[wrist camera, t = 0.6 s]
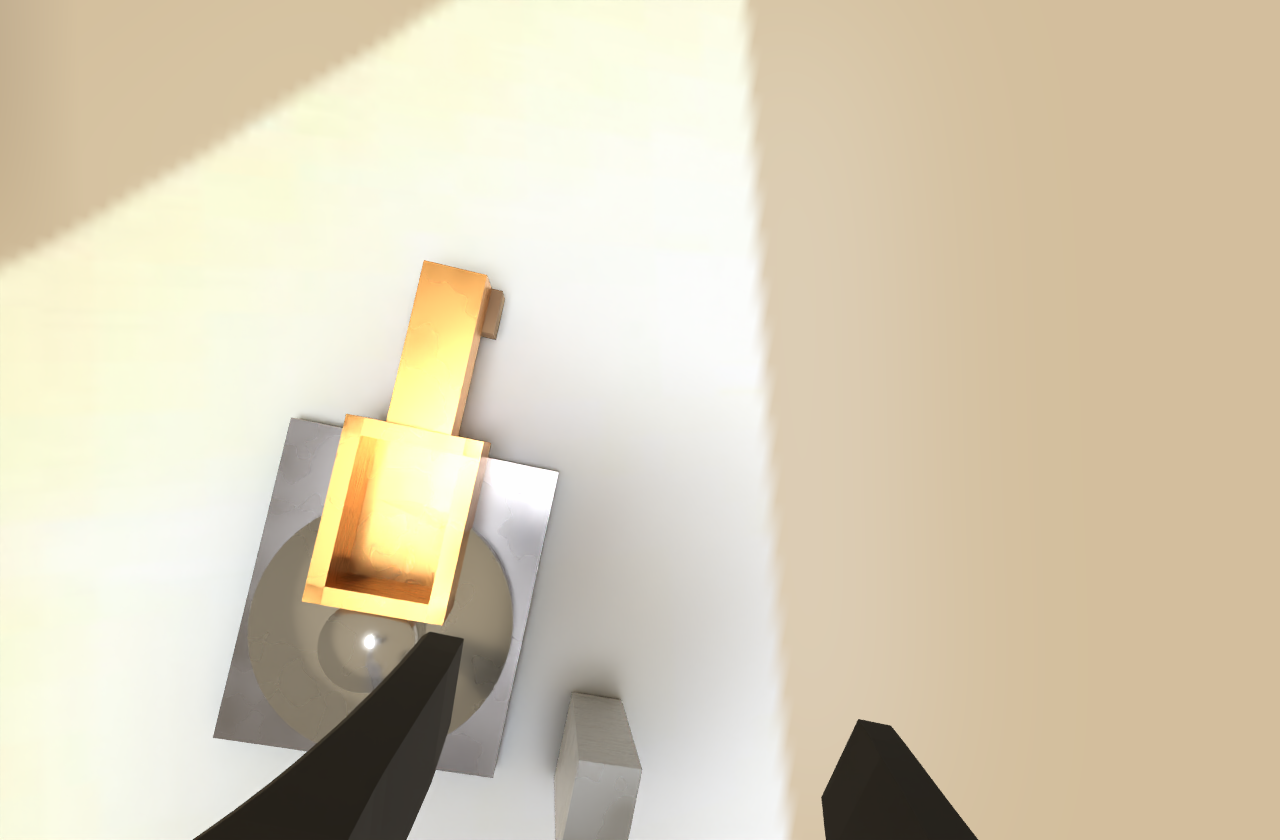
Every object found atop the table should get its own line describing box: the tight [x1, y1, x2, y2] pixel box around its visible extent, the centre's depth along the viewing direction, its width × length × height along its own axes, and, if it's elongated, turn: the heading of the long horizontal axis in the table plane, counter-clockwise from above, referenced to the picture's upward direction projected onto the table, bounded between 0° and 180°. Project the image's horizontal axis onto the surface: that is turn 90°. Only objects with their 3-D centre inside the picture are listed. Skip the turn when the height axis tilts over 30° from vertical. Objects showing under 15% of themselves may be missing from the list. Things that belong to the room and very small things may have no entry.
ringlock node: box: [213, 260, 559, 778], centre depth 29 cm, size 22×12×5 cm, turn 168°
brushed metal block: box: [554, 692, 642, 840], centre depth 28 cm, size 4×2×7 cm, turn 168°
